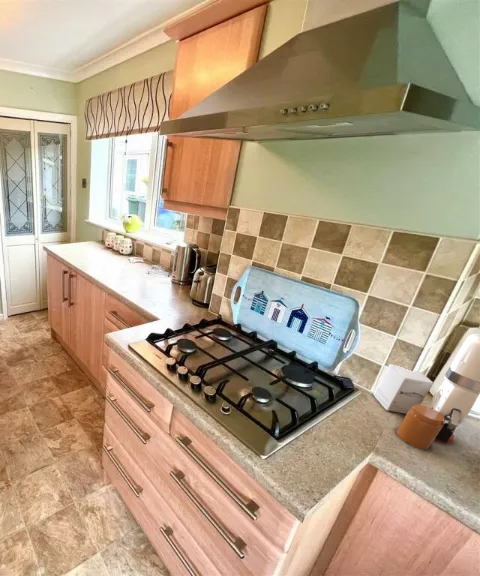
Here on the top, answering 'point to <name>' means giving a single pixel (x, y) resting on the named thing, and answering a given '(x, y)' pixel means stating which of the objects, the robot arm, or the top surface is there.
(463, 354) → the robot arm
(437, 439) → the lid
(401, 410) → the white packaging box
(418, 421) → the jar
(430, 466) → the top surface
